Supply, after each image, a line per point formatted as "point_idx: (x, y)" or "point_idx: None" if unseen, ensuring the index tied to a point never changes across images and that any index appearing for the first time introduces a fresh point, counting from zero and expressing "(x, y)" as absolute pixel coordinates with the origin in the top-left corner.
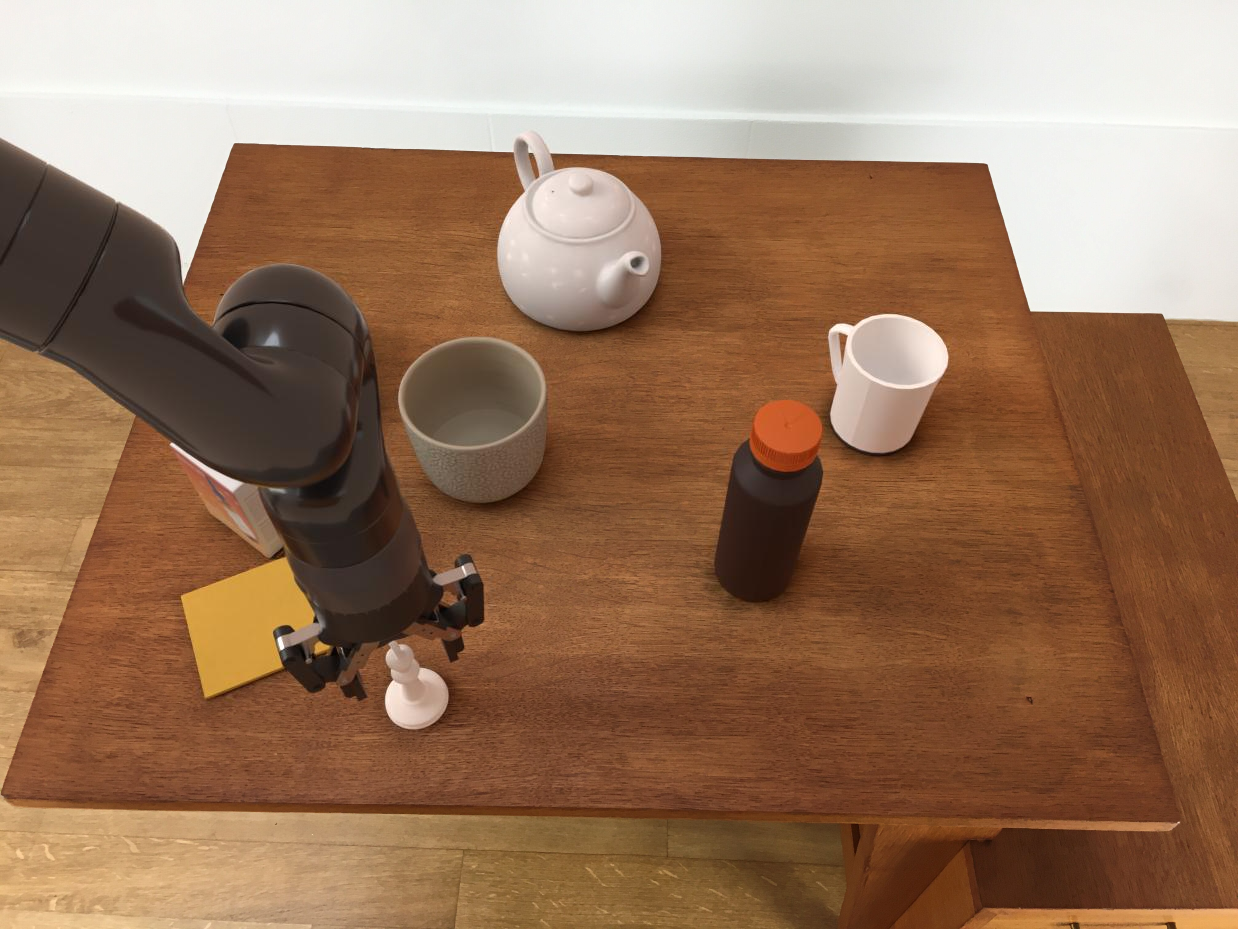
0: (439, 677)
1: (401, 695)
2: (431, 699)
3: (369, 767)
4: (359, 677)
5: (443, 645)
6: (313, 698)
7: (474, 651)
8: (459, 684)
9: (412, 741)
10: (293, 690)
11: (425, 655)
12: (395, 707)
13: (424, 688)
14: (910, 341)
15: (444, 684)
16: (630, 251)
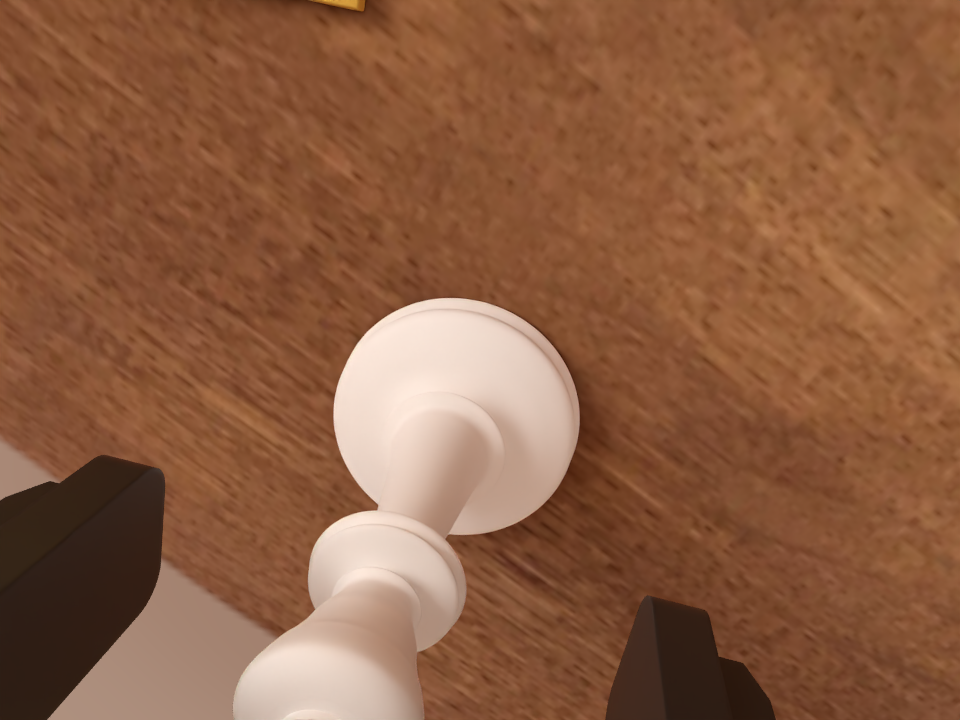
0: (568, 430)
1: (389, 440)
2: (488, 496)
3: (213, 503)
4: (74, 618)
5: (633, 688)
6: (122, 157)
7: (759, 391)
8: (621, 463)
9: None
10: (61, 71)
11: (584, 278)
12: (358, 432)
13: (481, 481)
14: None
15: (569, 460)
16: None
